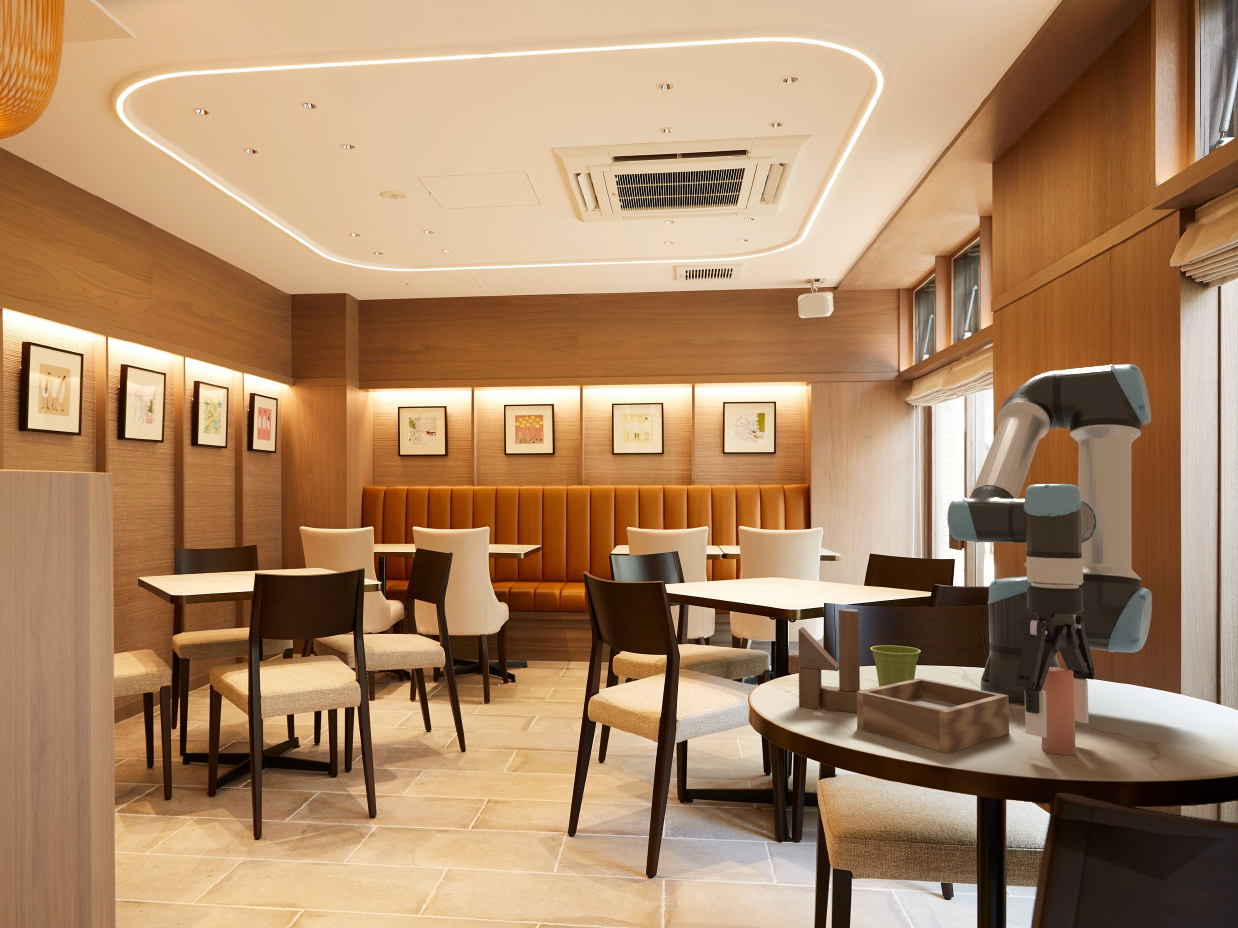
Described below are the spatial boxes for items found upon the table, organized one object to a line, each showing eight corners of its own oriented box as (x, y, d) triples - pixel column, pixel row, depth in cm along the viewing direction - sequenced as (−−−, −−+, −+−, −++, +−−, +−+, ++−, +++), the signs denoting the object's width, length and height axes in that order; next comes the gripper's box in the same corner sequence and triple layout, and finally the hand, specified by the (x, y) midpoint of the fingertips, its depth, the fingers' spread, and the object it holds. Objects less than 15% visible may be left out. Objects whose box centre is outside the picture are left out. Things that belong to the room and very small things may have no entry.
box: (920, 712, 140) (919, 677, 140) (1009, 733, 127) (1008, 695, 127) (857, 728, 129) (856, 691, 129) (947, 753, 116) (946, 712, 117)
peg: (1050, 744, 121) (1048, 665, 122) (1080, 751, 117) (1078, 670, 118) (1036, 749, 118) (1034, 669, 119) (1067, 756, 115) (1065, 674, 116)
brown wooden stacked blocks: (802, 703, 146) (801, 605, 147) (862, 709, 142) (861, 609, 143) (798, 707, 143) (797, 607, 144) (859, 714, 138) (858, 611, 139)
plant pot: (860, 691, 156) (860, 646, 156) (894, 686, 160) (894, 643, 161) (896, 701, 148) (896, 654, 148) (932, 696, 152) (931, 650, 152)
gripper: (1066, 579, 130) (1069, 710, 128) (987, 587, 115) (990, 735, 114) (1116, 583, 124) (1120, 720, 122) (1040, 591, 109) (1043, 748, 108)
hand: (1057, 727), depth 118 cm, fingers open, 13 cm apart
